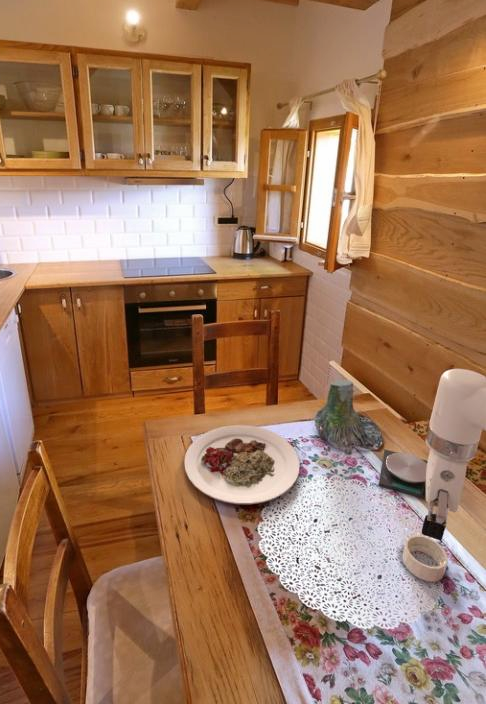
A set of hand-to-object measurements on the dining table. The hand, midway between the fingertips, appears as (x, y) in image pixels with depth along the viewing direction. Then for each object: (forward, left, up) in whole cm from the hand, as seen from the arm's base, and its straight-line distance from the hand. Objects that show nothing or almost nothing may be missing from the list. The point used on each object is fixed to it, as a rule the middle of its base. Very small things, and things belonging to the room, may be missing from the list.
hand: (431, 516), depth 75 cm
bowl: (-1, 0, -13) cm, 13 cm away
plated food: (+43, -12, -13) cm, 46 cm away
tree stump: (+20, -38, -13) cm, 45 cm away
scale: (+3, -25, -13) cm, 28 cm away
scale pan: (+3, -25, -11) cm, 27 cm away
